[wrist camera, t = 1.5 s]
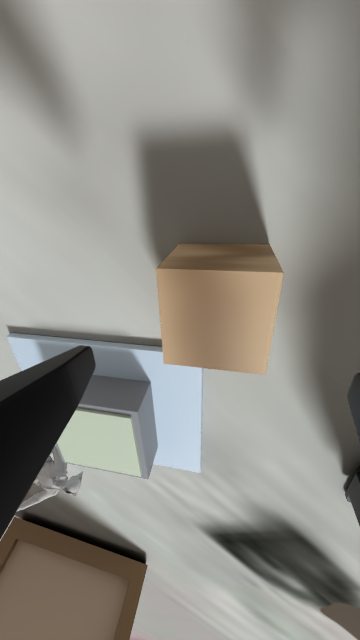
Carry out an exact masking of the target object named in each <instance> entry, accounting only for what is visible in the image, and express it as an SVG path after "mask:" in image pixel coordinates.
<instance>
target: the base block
mask: <svg viewBox="0 0 360 640" xmlns="http://www.w3.org/2000/svg"><path fill="white" fill-rule="evenodd" d="M56 447H57V450H58V452H59V455H60V457H61V459H62V462H64V463H69V464H74V465H79V466H84V467H89V468H95V469H100V470H105V471H110V472H115V473H120V474H125V475H130V476H135V477H140V478H145V479H148V478H149V475H150V472H151V468H152V465H153V462H154V458H155V455H156V452H157V448H158V441H157V432H156V423H155V415H154V406H153V397H152V388H151V382H148V381H140V380H132V379H124V378H115V377H107V376H99V375H92V377H91V379H90V382H89V384H88V386H87V388H86V390H85V393H84V395H83V397H82V399H81V401H80V403H79V405H78V407H77V409H76V411H75V412H74V414H73V416H72V417H71V419H70V421H69V423H68V424H67V426H66V428H65V429H64V431H63V433H62V434H61V436H60V438H59V440H58V441H57V443H56Z"/></svg>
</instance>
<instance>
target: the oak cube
mask: <svg viewBox="0 0 360 640" xmlns="http://www.w3.org/2000/svg"><path fill="white" fill-rule="evenodd" d="M156 271H157V284H158V297H159V310H160V323H161V336H162V349H163V362H164V364H170V365H180V366H189V367H198V368H208V369H217V370H227V371H236V372H245V373H255V374H264V375H266V370H267V364H268V359H269V353H270V347H271V342H272V336H273V331H274V325H275V319H276V314H277V308H278V302H279V297H280V291H281V285H282V280H283V274H284V272H283V270H282V268H281V266H280V264H279V262H278V260H277V258H276V256H275V254H274V252H273V250H272V248H271V246H270V244H213V243H179V245H178V246H177V247H176V248H175V249H174V250H173V251H172V252H171V253H170V254H169V255H168V256H167V257H166V259H165V260H164V261H163V262H162V263H161V264H160V265H159V266H158V267H157V268H156Z"/></svg>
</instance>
